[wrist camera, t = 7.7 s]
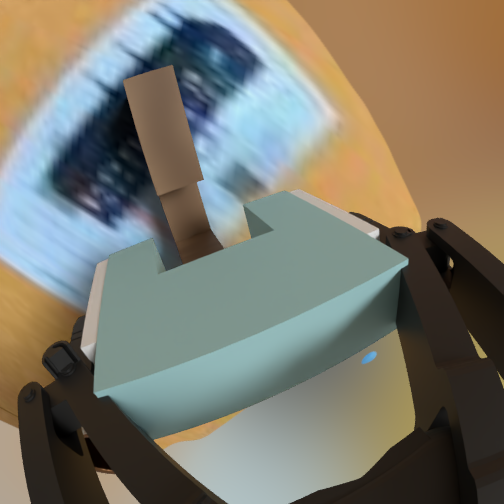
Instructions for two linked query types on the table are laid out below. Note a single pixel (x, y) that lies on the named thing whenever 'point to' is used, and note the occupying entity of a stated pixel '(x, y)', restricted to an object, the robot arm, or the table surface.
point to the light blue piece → (241, 316)
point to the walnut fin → (171, 159)
